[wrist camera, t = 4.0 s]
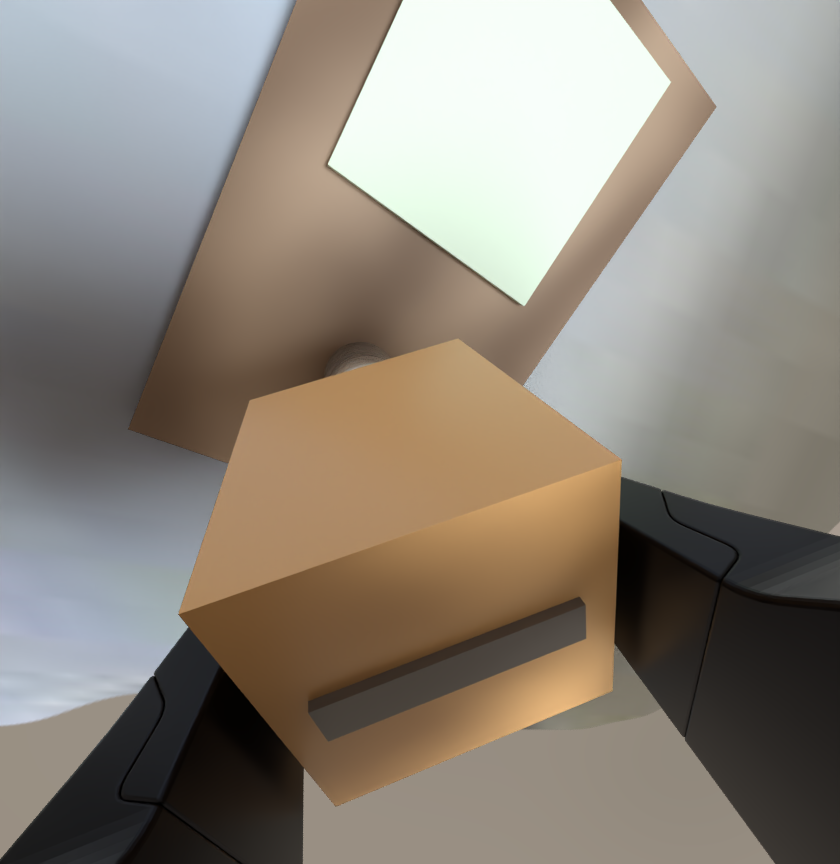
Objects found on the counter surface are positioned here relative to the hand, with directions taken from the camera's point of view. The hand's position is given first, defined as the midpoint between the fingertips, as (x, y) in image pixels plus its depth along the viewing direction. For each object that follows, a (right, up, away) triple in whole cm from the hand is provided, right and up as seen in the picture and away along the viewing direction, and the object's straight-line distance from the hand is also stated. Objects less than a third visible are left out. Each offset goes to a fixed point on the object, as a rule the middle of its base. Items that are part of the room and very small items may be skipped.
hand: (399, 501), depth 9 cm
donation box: (-1, +1, +2) cm, 2 cm away
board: (0, +8, +7) cm, 11 cm away
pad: (+3, +12, +5) cm, 14 cm away
